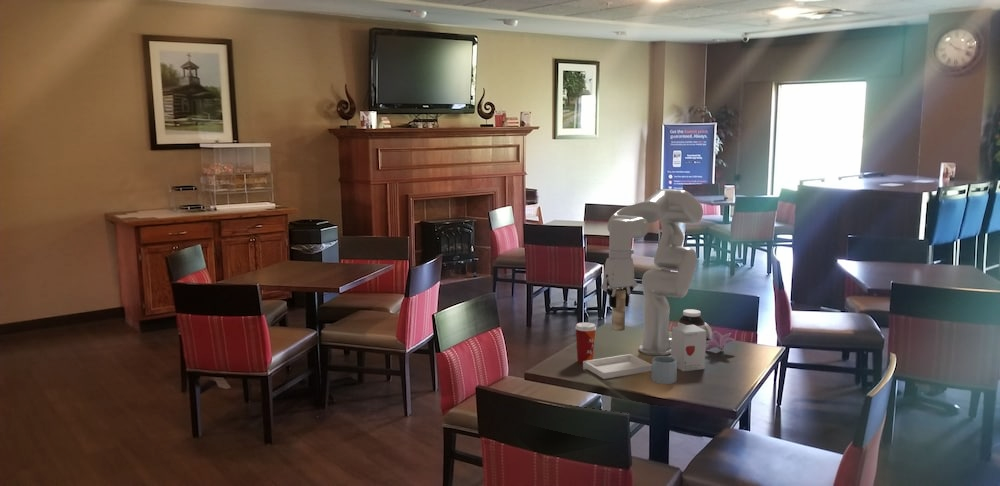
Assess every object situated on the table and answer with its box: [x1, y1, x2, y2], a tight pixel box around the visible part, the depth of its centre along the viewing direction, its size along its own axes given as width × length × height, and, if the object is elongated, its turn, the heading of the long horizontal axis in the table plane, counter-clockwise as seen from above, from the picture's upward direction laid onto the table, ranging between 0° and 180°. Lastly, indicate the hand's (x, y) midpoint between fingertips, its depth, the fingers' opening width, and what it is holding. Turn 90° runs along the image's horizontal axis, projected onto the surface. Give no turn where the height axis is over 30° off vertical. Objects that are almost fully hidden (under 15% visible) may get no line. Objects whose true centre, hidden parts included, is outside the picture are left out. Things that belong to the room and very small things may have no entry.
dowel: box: [611, 288, 626, 332], centre depth 253 cm, size 4×4×14 cm
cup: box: [650, 355, 678, 385], centre depth 245 cm, size 8×8×8 cm
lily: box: [705, 330, 737, 358], centre depth 275 cm, size 12×12×10 cm
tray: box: [582, 353, 652, 380], centre depth 257 cm, size 20×14×3 cm
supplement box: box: [670, 325, 707, 372], centre depth 258 cm, size 9×9×15 cm
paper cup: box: [574, 322, 597, 365], centre depth 266 cm, size 8×8×14 cm
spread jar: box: [677, 308, 713, 340], centre depth 294 cm, size 12×11×12 cm
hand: (618, 305), depth 253 cm, fingers closed on dowel, 4 cm apart
